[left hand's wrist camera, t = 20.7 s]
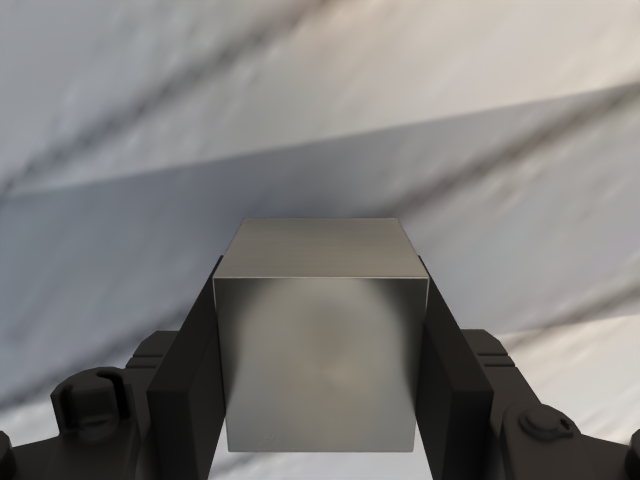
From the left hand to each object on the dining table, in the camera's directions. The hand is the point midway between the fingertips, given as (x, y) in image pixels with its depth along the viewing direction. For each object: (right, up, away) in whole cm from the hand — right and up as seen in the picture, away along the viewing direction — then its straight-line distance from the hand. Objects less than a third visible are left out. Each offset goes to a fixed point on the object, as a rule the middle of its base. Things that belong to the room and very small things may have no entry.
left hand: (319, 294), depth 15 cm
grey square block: (0, 0, 0) cm, 0 cm away
